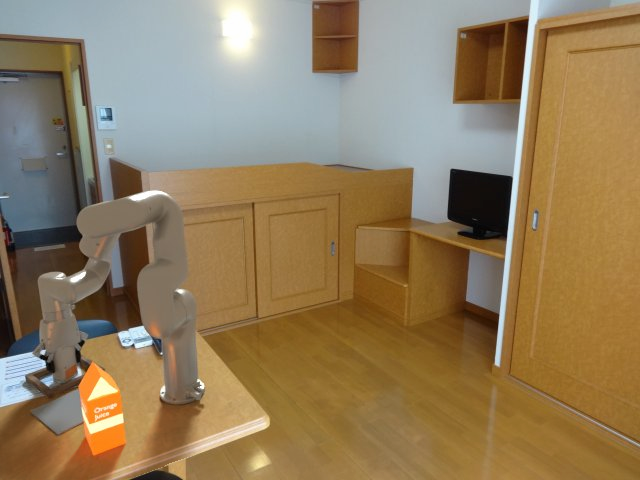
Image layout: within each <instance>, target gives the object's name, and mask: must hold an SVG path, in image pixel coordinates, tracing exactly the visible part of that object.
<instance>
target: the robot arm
mask: <svg viewBox="0 0 640 480" xmlns="http://www.w3.org/2000/svg"><path fill="white" fill-rule="evenodd" d="M151 224H154V225H153V226H154V228H153V233H152V237H151V238H152V239H151V241H152V250H153V261H151V262H150V263H148V264H146V265H145V266H144V267H143V268H142V269H141V270H140V272H139V274H138V276H137V281H136V288H137V298H138V304H139V311H140V318H141V323H142V325H143V328H144V330H145V331H146V333H147V334H148V335H149V336H151V337H153V338H155V339H158V340H159V339H160V340H161V353H162V367H163V378H164V385H163V386H161V388H160V390H159V397H160V399H161V400H162V402H164V403H166V404H170V405H184V404H189V403H191V402H194V401H200V400H201V398H202V396H203V394H205V392H206V389H205V383H204V382H203V381H201V380H200V379H199V368H198V365H199V364H198V350H197V333H196V331H197V330H196V329H197V316H198V305H197V304H198V303H197V299H196V298H195V297H194V295H193V293H191V291H189V290H188V289H184V288H181V286H183V285H184V284H185V283H186V281H188V279H189V275H190V274H189V273H190V271H189V262H188V261H189V260H188V253H187V244H186V236H185V222H184V215H183V211H182V209H181V207H180V204H179V203H178V202H177V201H176V199H175V198H174V197H172V196H171V195H170V194H168V193H167V192H165V191H164V192H163V191H161V190H145V191H141V192H139V193H135V194H131V195H128V196H125V197H121V198H118V199H114V200H106V201H102V202H99V203H98V202H97V203H95V204H94V203H93V204H91V205H87V206H85V207H83V209H81V210H80V211H79V213H78V215H77V217H76V227H77V229H78V231H79V233H80V234H81V236H82V238H80V242H79V243H78V246H79V247H78V248H79V250H80V252H81V253H82V254H83V255H85V256H86V257H87V258H88V260H87V262H86V264H85V266H84V268H83V269H82V270H80V271H78V272H75V273H73V274H71V275H68V276H67V275H66V274H65V273H64V272H61V271H50V272H46V273H42V274H41V275H39V276H38V278H37V287H38V291H39V292H38V293H39V299H40V300H39V301H40V306H41V312H42V313H41V314H42V319H40V321H39V333H38V334H39V344H38V345H37V346H36V347H35V349H34V350H33V351H32V352H31V354H32V355H33V356H35V357H36V358H37V359H40V360H42V361H44V362H45V367H46V369H47V371H49V372H51V375H53V373H55V368H54V362H53V361H52V357H53V355H54V353H55V352H57V348H58V347H59V346H62V345H66V346H67V347H71V346H74V347H75V352H76V360H77V364H81V361H80V359H81V354H82V353H81V351H82V349H83V346H84V345H85V343H86V341H87V339H88V337H89V334H88V333H86V332H83V331H80V329H79V326H78V322H77V320H76V319H77V318H76V315H75V314H74V313H73V310H74V309H76V305H75V304H76V303H78V302H80V301H82V300H83V299H85V298H86V297H89V296H90V295H92V294H94V293H96V292H98V291H99V290H100V289H101V288H102V287H103V286H104V284H105V282H106V280H107V278H108V276H109V274H110V272H111V269H112V256H111V254H112V251H113V250H114V248H115V246H116V244H117V242H118V239H119V238H120V236H121V234H123V233H127V232H132V231H135V230H137V229H141V228H143V227H145V226H147V225H151ZM42 351H45V352H44V353H41V352H42Z"/></svg>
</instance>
